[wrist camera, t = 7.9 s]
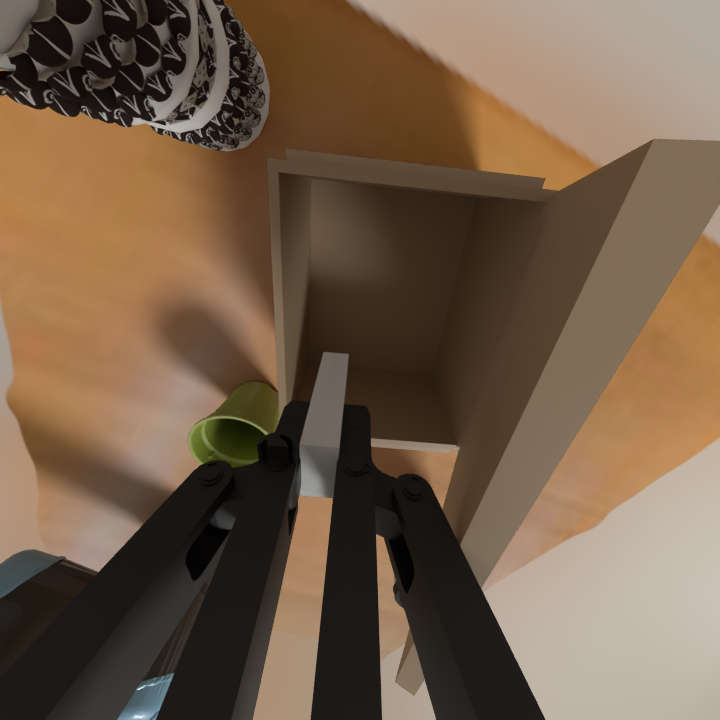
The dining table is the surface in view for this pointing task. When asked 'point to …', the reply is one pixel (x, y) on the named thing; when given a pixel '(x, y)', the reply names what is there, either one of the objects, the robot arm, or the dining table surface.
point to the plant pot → (236, 426)
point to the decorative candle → (138, 66)
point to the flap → (571, 335)
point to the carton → (397, 284)
